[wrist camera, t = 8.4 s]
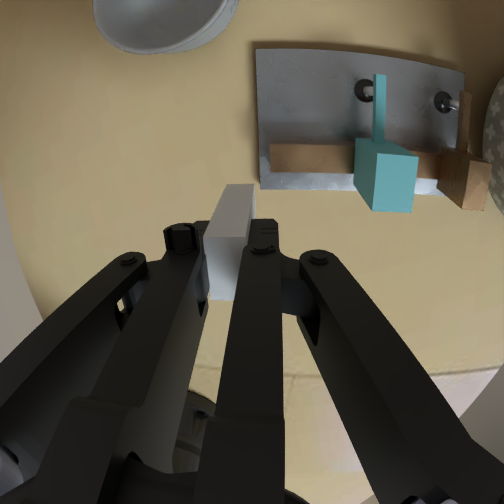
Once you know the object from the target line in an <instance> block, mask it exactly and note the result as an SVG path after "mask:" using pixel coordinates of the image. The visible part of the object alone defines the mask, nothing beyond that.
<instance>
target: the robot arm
mask: <svg viewBox="0 0 504 504" xmlns="http://www.w3.org/2000/svg"><path fill="white" fill-rule="evenodd" d="M163 233H164V239H165V244H166V250H167V251H166V252H165V254H164V256H163V258H162V259H161V260H157V261H151V262H146V257H145V255H144V254H143V253H140V252H127V253H125V254H123V255H120V256H118V257H117V258H115V259H114V260H113V261H112V262H110V263H109V264H108V265H107V266H106V267H104V268H103V269H102V270H101V271H100V272H98V273H97V274H96V275H95V276H94V277H92V278H91V279H90V280H89V281H88V282H87V283H85V284H84V285H83V286H82V287H81V288H80V289H79V290H77V291H76V292H75V293H74V294H73V295H72V296H71V297H69V298H68V299H67V300H66V301H65V302H64V303H63V304H62V305H61V306H59V307H58V308H57V309H56V310H55V311H54V312H53V313H52V314H51V315H50V316H48V317H47V318H46V319H45V320H44V321H43V322H42V323H41V324H40V325H39V326H38V327H37V328H36V329H35V330H33V332H31V333H30V334H29V335H28V336H27V337H26V338H25V339H24V340H23V341H22V342H21V343H20V344H19V345H18V346H17V347H16V348H15V349H14V350H13V351H12V352H11V353H10V354H9V355H8V356H7V357H6V358H5V359H4V360H3V361H2V362H1V363H0V504H309V503H308V502H307V501H306V500H304V499H303V498H301V497H300V496H298V495H296V494H295V493H293V492H291V491H289V490H287V489H285V420H284V412H283V337H282V313H286V314H291V315H295V316H297V317H296V318H297V323H298V325H299V327H300V329H301V332H302V334H303V336H304V338H305V340H306V342H307V345H308V347H309V349H310V351H311V353H312V356H313V358H314V360H315V362H316V364H317V367H318V369H319V371H320V373H321V375H322V378H323V380H324V382H325V384H326V387H327V389H328V391H329V393H330V395H331V398H332V400H333V402H334V404H335V407H336V409H337V411H338V413H339V415H340V418H341V420H342V422H343V424H344V427H345V429H346V431H347V433H348V436H349V438H350V440H351V442H352V445H353V447H354V449H355V451H356V454H357V456H358V458H359V460H360V463H361V465H362V467H363V470H364V472H365V474H366V476H367V479H368V481H369V483H370V486H371V488H372V490H373V492H374V494H375V496H376V498H377V499H378V502H379V504H504V464H503V463H502V462H501V461H499V460H498V459H497V458H496V457H494V456H493V455H492V454H490V453H489V452H488V451H487V450H485V449H484V448H483V447H482V446H480V445H479V444H478V443H476V442H475V441H474V440H473V439H472V438H471V437H470V435H469V434H468V432H467V431H466V429H465V428H464V426H463V425H462V423H461V422H460V420H459V419H458V417H457V416H456V414H455V413H454V411H453V410H452V408H451V407H450V405H449V404H448V402H447V401H446V399H445V398H444V396H443V395H442V394H441V392H440V391H439V389H438V388H437V386H436V385H435V384H434V382H433V381H432V379H431V378H430V377H429V375H428V374H427V372H426V371H425V370H424V368H423V367H422V365H421V364H420V363H419V361H418V360H417V359H416V357H415V356H414V354H413V353H412V352H411V350H410V349H409V348H408V346H407V345H406V344H405V342H404V341H403V340H402V338H401V337H400V336H399V334H398V333H397V332H396V330H395V329H394V328H393V326H392V325H391V324H390V323H389V321H388V320H387V319H386V317H385V316H384V315H383V314H382V312H381V311H380V310H379V308H378V307H377V306H376V305H375V303H374V302H373V301H372V300H371V298H370V297H369V296H368V294H367V293H366V292H365V291H364V289H363V288H362V287H361V286H360V285H359V283H358V282H357V281H356V280H355V278H354V277H353V276H352V275H351V273H350V272H349V271H348V270H347V269H346V267H345V266H344V265H343V264H342V263H341V261H340V260H339V259H338V258H337V257H336V256H335V255H334V254H333V253H330V252H328V251H325V250H319V249H318V250H310V251H306V252H304V253H303V254H301V256H300V259H299V260H297V259H293V258H289V257H287V256H285V255H283V254H282V253H281V252H280V249H279V234H278V223H277V222H276V221H275V220H274V219H256V211H255V184H227V185H226V187H225V189H224V191H223V194H222V196H221V198H220V200H219V202H218V204H217V207H216V209H215V211H214V213H213V216H212V218H211V220H209V221H196V222H194V223H193V224H192V223H178V224H174V225H171V226H169V227H167V228H165V229H164V230H163ZM209 291H210V299H211V300H234V302H233V308H232V314H231V319H230V325H229V331H228V337H227V343H226V348H225V354H224V360H223V366H222V372H221V378H220V384H219V390H218V396H217V402H216V405H215V404H214V403H212V402H211V401H209V400H208V399H206V398H204V397H202V396H199V395H197V394H194V393H191V392H188V387H189V383H190V379H191V374H192V370H193V366H194V362H195V358H196V354H197V350H198V346H199V343H200V339H201V335H202V331H203V327H204V323H205V319H206V315H207V312H208V299H207V295H208V292H209ZM121 298H122V301H123V305H124V309H123V310H122V311H119V309H118V306H117V302H118V301H119V300H120V299H121Z"/></svg>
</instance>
